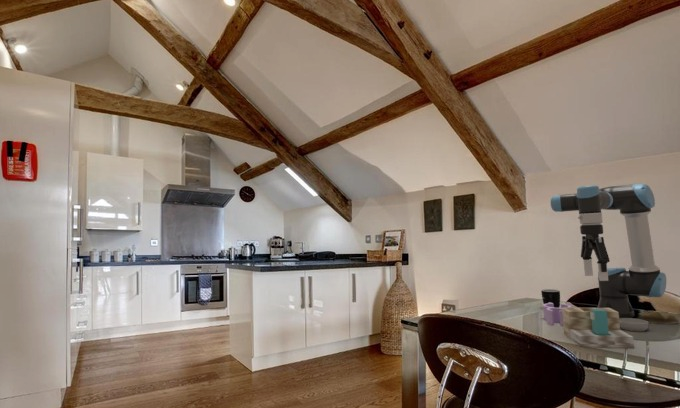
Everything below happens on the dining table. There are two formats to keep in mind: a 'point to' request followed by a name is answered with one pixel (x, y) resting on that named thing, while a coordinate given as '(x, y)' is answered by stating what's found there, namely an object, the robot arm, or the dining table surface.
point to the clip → (554, 313)
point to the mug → (551, 296)
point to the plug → (599, 321)
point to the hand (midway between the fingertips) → (596, 278)
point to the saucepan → (633, 324)
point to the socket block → (582, 332)
